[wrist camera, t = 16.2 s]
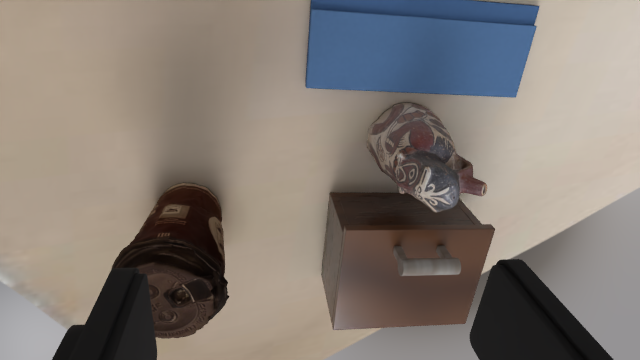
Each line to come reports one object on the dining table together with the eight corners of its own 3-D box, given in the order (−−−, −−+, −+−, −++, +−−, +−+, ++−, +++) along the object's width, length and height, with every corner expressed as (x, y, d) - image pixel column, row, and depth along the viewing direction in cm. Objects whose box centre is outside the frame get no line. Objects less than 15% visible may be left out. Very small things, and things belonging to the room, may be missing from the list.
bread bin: (329, 192, 42) (342, 232, 36) (454, 193, 45) (488, 231, 38) (321, 274, 47) (331, 323, 41) (434, 271, 49) (461, 317, 43)
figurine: (370, 102, 39) (413, 153, 28) (442, 100, 40) (511, 149, 29) (364, 171, 42) (402, 241, 31) (432, 168, 43) (490, 234, 32)
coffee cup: (245, 185, 41) (241, 271, 29) (225, 252, 44) (214, 353, 32) (152, 163, 38) (108, 247, 27) (138, 236, 42) (94, 338, 30)
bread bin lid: (344, 225, 36) (353, 253, 32) (491, 224, 38) (515, 250, 34) (331, 323, 41) (338, 357, 37) (462, 318, 43) (480, 349, 39)
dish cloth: (311, -14, 34) (313, -13, 33) (536, 5, 37) (542, 6, 36) (305, 85, 37) (306, 88, 36) (510, 95, 40) (515, 97, 39)
